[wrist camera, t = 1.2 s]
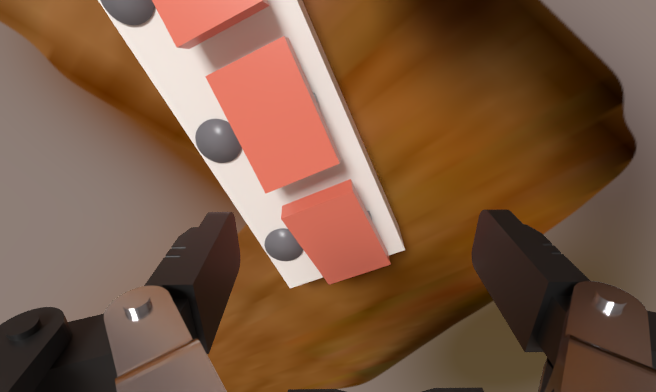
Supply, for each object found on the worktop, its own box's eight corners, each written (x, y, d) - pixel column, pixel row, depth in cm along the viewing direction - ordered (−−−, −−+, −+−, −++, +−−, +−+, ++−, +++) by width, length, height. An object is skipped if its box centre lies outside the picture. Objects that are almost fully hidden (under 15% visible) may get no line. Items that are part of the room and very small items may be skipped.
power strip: (153, -349, 19) (97, -456, 14) (398, 225, 36) (406, 256, 31) (-5, -212, 21) (-92, -268, 17) (294, 262, 38) (288, 294, 34)
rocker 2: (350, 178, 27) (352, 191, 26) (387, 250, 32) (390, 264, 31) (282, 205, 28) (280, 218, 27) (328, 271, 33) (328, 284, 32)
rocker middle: (288, 38, 24) (283, 35, 22) (341, 158, 26) (339, 163, 24) (214, 76, 25) (205, 76, 23) (270, 187, 27) (265, 193, 26)
